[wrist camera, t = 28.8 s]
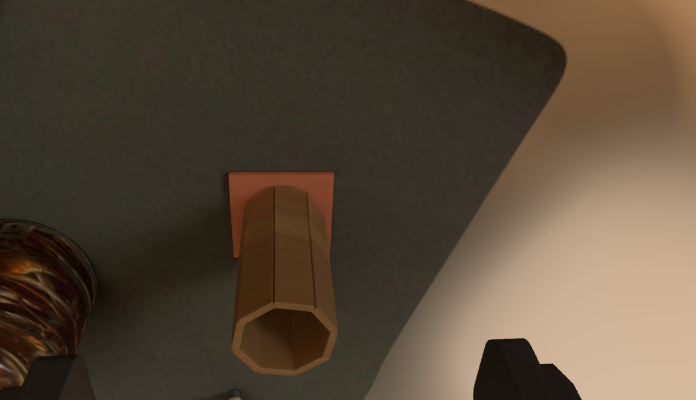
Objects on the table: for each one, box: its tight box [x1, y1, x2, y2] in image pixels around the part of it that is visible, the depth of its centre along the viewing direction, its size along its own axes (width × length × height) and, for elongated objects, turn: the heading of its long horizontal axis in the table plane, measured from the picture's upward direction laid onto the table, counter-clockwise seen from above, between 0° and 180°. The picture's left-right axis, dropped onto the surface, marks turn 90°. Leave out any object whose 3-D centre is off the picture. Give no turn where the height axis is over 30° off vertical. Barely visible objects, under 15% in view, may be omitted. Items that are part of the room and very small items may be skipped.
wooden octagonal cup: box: [231, 186, 338, 376], centre depth 40 cm, size 6×6×13 cm
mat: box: [228, 172, 334, 258], centre depth 46 cm, size 8×8×1 cm
